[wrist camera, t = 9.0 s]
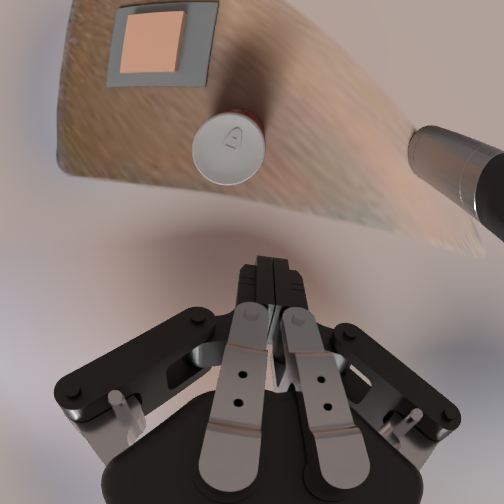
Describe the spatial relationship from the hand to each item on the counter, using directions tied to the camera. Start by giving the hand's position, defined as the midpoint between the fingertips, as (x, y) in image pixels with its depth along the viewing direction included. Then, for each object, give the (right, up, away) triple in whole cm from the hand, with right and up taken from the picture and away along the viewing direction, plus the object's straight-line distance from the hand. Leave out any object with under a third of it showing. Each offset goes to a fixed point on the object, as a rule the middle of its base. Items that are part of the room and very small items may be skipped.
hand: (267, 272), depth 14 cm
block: (-10, +28, +15) cm, 34 cm away
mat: (-14, +30, +17) cm, 37 cm away
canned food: (-3, +17, +24) cm, 30 cm away
